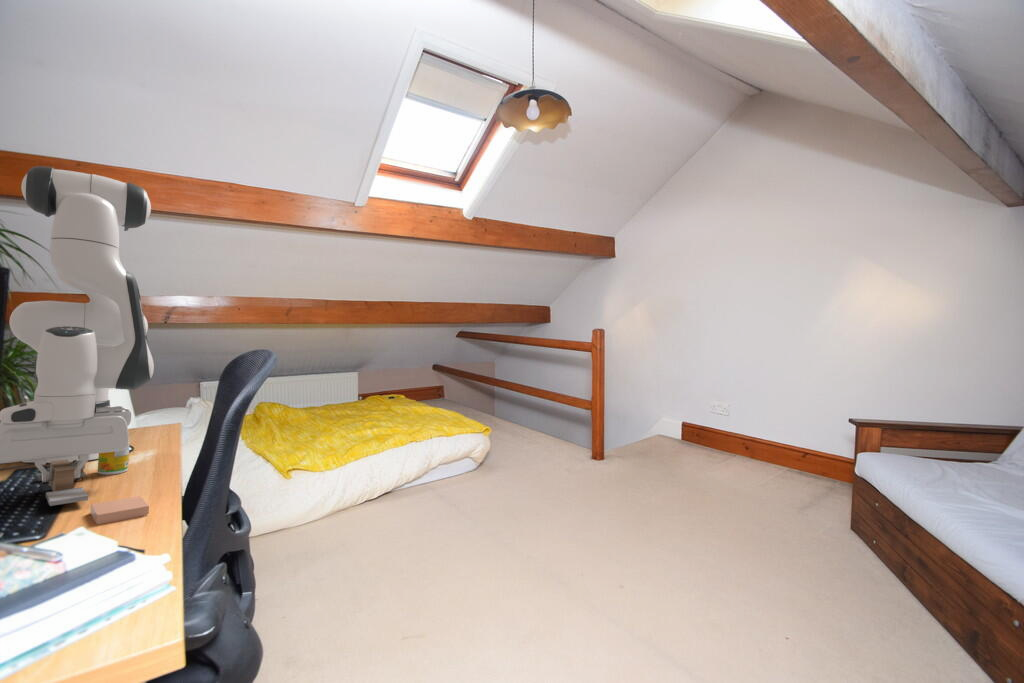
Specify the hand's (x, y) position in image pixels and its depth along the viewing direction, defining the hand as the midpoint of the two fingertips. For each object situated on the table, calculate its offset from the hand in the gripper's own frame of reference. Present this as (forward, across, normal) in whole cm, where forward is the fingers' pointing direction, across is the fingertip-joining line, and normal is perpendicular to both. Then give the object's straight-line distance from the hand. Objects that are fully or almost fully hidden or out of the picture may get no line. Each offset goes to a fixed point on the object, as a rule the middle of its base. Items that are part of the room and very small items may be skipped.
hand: (61, 479), depth 93 cm
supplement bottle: (+3, -10, -13) cm, 16 cm away
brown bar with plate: (+2, 0, +4) cm, 4 cm away
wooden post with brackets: (+3, -1, -11) cm, 11 cm away
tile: (+2, -6, +16) cm, 18 cm away
